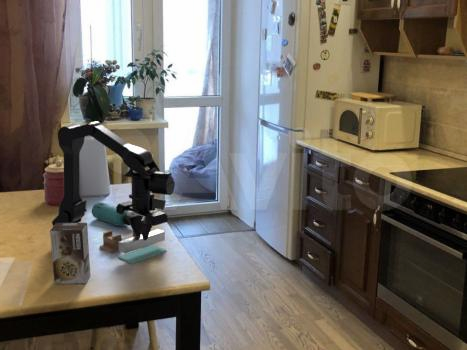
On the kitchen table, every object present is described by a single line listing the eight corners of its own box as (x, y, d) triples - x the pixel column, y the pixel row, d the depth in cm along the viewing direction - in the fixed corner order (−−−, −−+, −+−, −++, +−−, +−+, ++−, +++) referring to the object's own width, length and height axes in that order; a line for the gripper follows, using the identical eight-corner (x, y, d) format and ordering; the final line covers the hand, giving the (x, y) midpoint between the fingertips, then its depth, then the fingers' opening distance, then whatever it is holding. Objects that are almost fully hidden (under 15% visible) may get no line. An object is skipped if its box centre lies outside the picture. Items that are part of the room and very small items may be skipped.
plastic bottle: (109, 196, 240) (107, 131, 233) (73, 198, 237) (69, 132, 230) (110, 187, 255) (107, 125, 248) (75, 188, 252) (72, 126, 245)
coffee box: (91, 274, 164) (88, 222, 160) (86, 284, 158) (83, 229, 154) (59, 274, 163) (55, 221, 159) (53, 284, 157) (49, 229, 153)
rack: (110, 253, 179) (110, 238, 178) (99, 248, 183) (99, 233, 182) (154, 239, 192) (154, 224, 191) (143, 234, 196) (142, 220, 195)
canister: (45, 198, 236) (42, 157, 232) (77, 196, 240) (74, 155, 235) (44, 207, 224) (41, 164, 220) (78, 205, 228) (76, 162, 223)
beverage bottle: (96, 220, 214) (132, 232, 202) (85, 212, 209) (121, 224, 197) (104, 205, 216) (140, 216, 204) (93, 197, 211) (130, 208, 199)
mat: (132, 264, 172) (132, 262, 171) (118, 257, 176) (118, 256, 176) (166, 251, 182) (166, 250, 182) (152, 245, 186) (152, 244, 186)
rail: (124, 253, 171) (124, 244, 171) (118, 250, 173) (118, 241, 173) (164, 240, 183) (164, 231, 182) (158, 237, 185) (158, 229, 184)
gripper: (180, 192, 173) (181, 239, 177) (142, 180, 186) (143, 225, 189) (152, 199, 165) (153, 249, 169) (114, 187, 177) (116, 233, 181)
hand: (142, 238), depth 178 cm, fingers closed on rail, 3 cm apart
